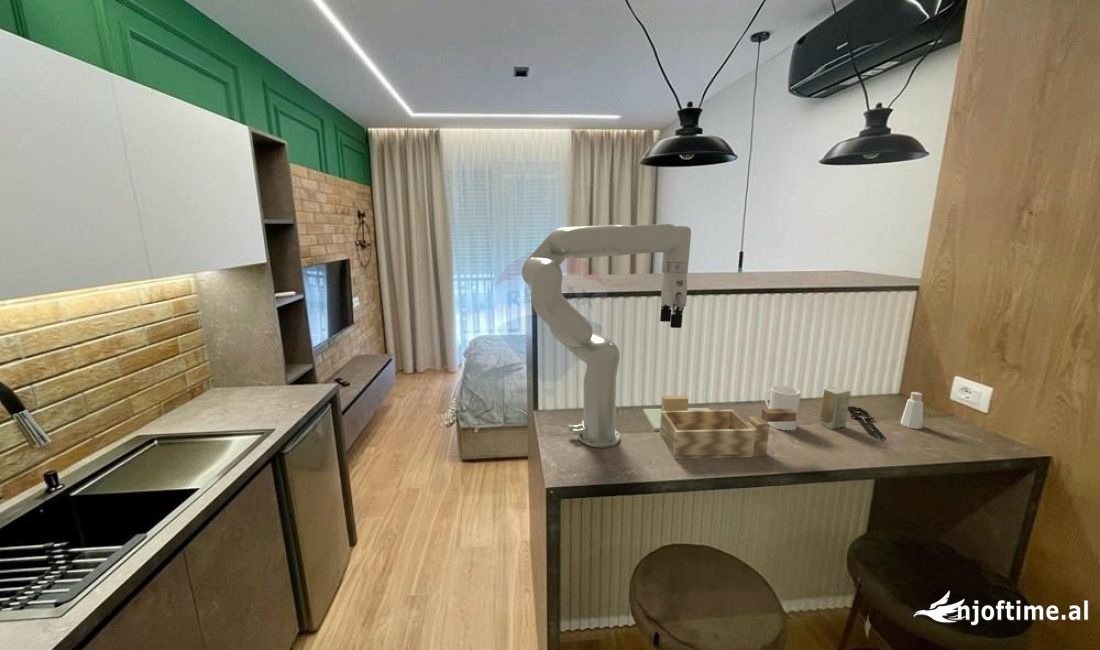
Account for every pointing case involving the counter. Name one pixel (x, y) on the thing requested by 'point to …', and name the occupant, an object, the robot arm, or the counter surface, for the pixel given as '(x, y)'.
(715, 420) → the tan wooden open box
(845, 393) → the skincare box
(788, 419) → the rectangular brown block
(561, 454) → the counter surface
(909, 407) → the pepper shaker
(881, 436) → the knife
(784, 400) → the mug
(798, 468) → the counter surface
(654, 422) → the lid
